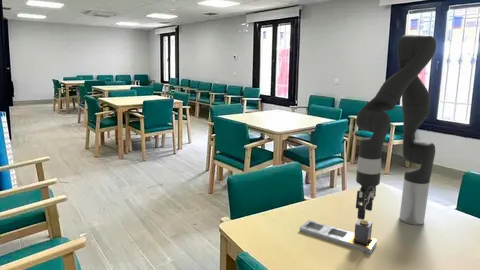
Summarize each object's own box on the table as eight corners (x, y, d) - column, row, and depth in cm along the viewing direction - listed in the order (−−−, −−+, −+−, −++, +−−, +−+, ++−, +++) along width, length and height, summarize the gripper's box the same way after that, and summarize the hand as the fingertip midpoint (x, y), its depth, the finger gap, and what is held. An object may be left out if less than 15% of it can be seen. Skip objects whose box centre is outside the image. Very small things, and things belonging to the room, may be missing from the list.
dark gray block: (357, 240, 130) (359, 217, 128) (370, 243, 128) (372, 221, 126) (353, 245, 126) (355, 222, 125) (366, 249, 124) (368, 225, 122)
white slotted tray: (308, 224, 143) (308, 219, 142) (376, 245, 128) (377, 239, 128) (299, 232, 136) (299, 227, 136) (369, 254, 122) (370, 248, 121)
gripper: (374, 177, 113) (369, 225, 117) (386, 166, 125) (381, 209, 128) (350, 173, 118) (347, 219, 121) (364, 162, 129) (360, 204, 133)
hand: (364, 214), depth 125 cm, fingers open, 8 cm apart
